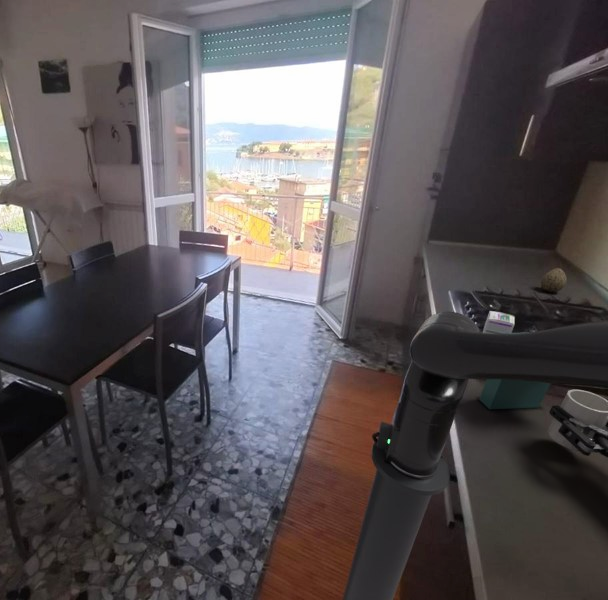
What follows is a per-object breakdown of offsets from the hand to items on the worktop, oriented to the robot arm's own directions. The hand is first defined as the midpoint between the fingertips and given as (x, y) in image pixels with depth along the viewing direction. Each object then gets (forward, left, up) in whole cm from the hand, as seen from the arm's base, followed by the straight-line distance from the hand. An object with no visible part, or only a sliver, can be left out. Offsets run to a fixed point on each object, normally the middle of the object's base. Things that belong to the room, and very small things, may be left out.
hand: (570, 408), depth 71 cm
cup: (+1, -2, -6) cm, 6 cm away
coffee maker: (-4, +7, -9) cm, 13 cm away
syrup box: (-8, +29, -9) cm, 31 cm away
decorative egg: (+21, +97, -9) cm, 99 cm away
